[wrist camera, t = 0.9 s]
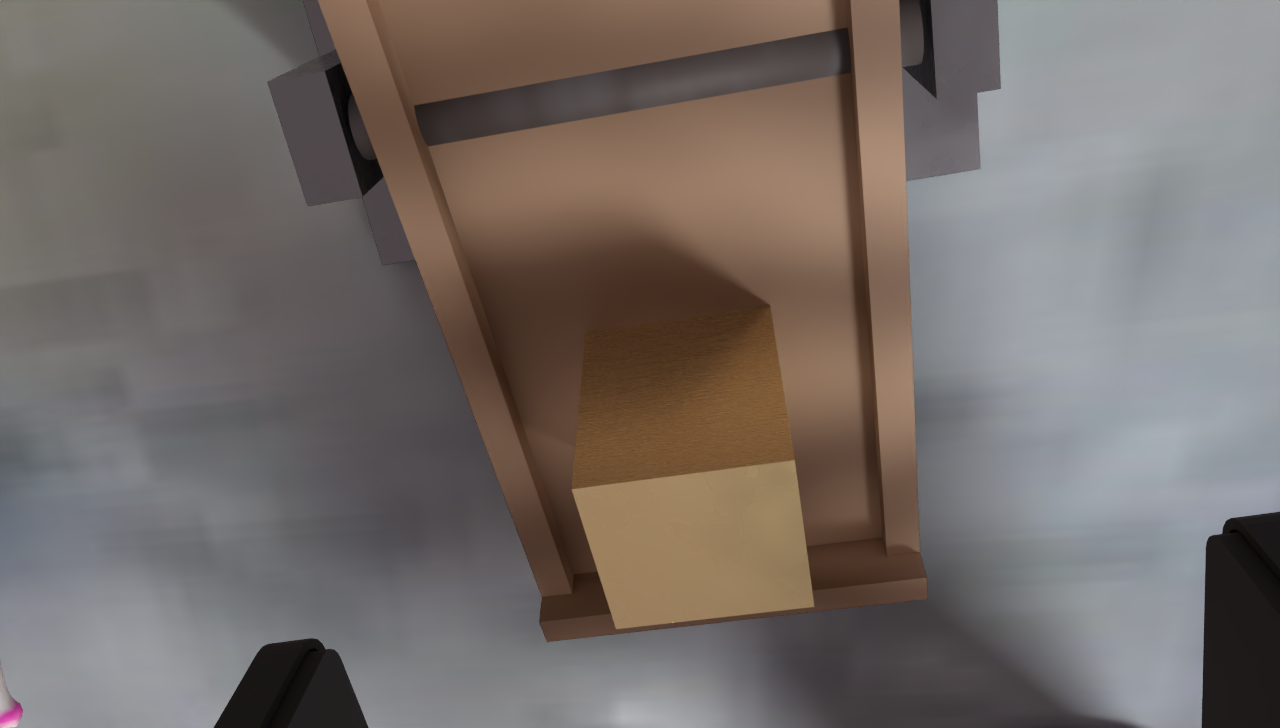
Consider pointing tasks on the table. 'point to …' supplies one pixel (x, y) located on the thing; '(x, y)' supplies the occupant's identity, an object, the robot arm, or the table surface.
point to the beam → (660, 237)
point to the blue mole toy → (8, 706)
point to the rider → (689, 470)
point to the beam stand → (932, 111)
